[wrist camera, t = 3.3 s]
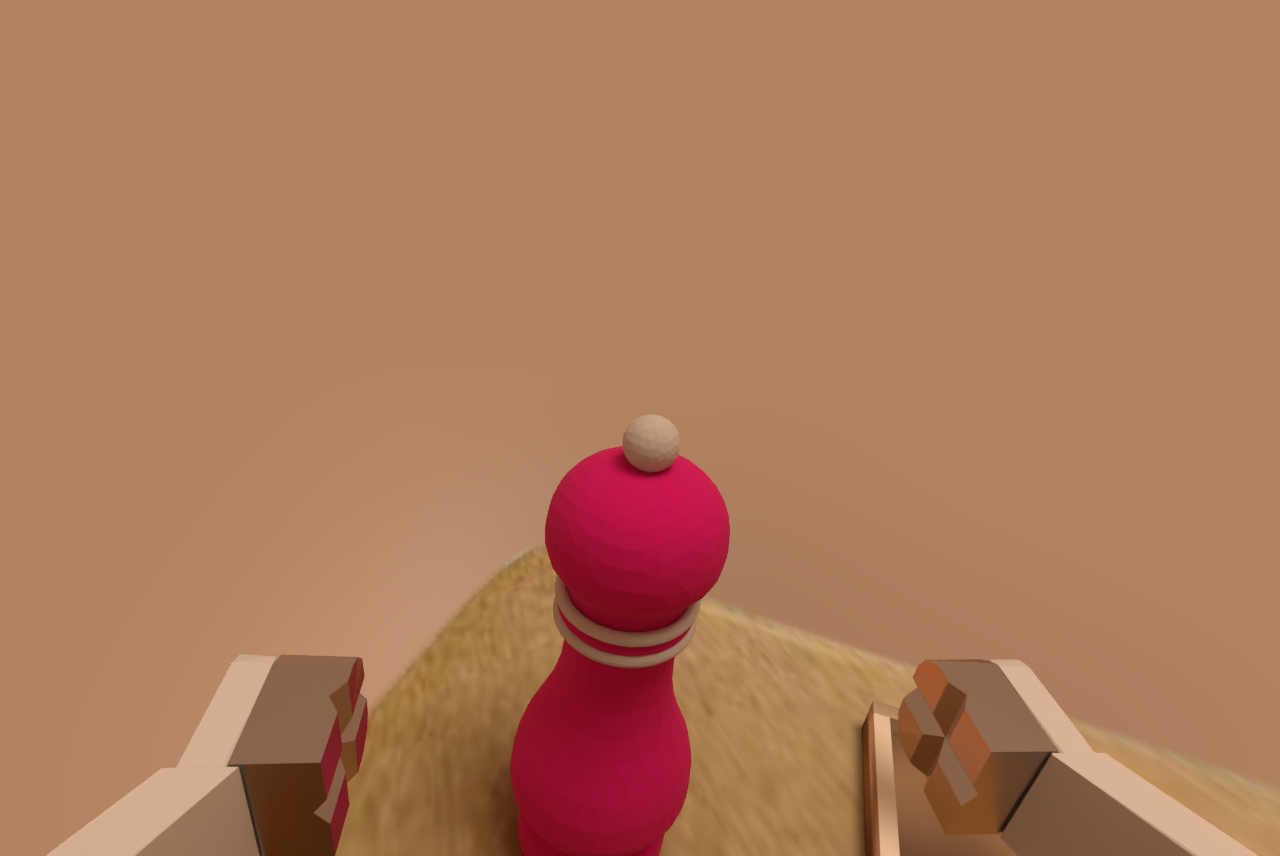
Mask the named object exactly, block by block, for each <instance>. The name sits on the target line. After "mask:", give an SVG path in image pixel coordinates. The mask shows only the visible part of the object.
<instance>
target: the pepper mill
mask: <svg viewBox="0 0 1280 856" xmlns="http://www.w3.org/2000/svg"><path fill="white" fill-rule="evenodd" d="M679 450H680V437H679V434H678V431H677V429H676V427H675V426H674V425H673V423H671V422H670V421H669V420H668V419H666V418H664V417H661V416H659V415H651V414H650V415H645V416H641V417H639V418H637V419H635V420H634V421H633V422H632V423H630V424H629V426H628V428H627V430H626V431H625V433H624V436H623V446H621V447H615V448H611V449H606V450H602V451H599V452H597V453H595V454H593V455H591V456H589V457H587V458H585V459H584V460H582V461H581V462H579V463H578V464H577V465H576V466H575V467H573V468H572V469H571V470H570V471H569V472H568V473H567V474H566V475H565V476H564V478H563V479H562V480H561V482H560V484H559V485H558V487H557V489H556V491H555V493H554V494H553V497H552V500H551V503H550V506H549V510H548V515H547V519H546V526H545V544H546V547H547V551H548V554H549V558H550V561H551V564H552V567H553V569H554V570H555V572H556V573H557V578H556V582H555V599H554V604H553V616H554V621H555V623H556V626H557V628H558V630H559V632H560V633H561V635H562V636H563V638H564V643H563V648H562V653H561V655H560V657H559V659H558V662H557V664H556V666H555V668H554V670H553V671H552V673H551V674H550V675H549V677H548V678H547V679H546V681H545V682H544V683H543V684H542V686H541V687H540V688H539V690H538V691H537V692H536V694H535V695H534V696H533V698H532V699H531V701H530V703H529V704H528V706H527V708H526V710H525V712H524V714H523V716H522V718H521V721H520V723H519V726H518V729H517V732H516V736H515V740H514V745H513V750H512V756H511V764H510V774H511V784H512V790H513V793H514V796H515V799H516V802H517V805H518V807H519V820H518V837H519V844H520V848H521V851H522V854H523V856H659V853H660V849H661V846H662V842H663V837H664V834H665V832H666V831H667V830H668V829H669V828H670V827H671V826H672V824H673V823H674V821H675V819H676V818H677V816H678V815H679V813H680V811H681V809H682V806H683V804H684V801H685V799H686V795H687V789H688V784H689V777H690V768H691V749H690V743H689V736H688V731H687V727H686V723H685V720H684V718H683V715H682V713H681V711H680V708H679V706H678V704H677V702H676V698H675V695H674V692H673V681H672V674H673V664H674V658H675V656H676V655H678V654H679V653H680V652H681V651H682V650H683V649H685V648H686V646H687V645H688V643H689V642H690V640H691V638H692V637H693V634H694V631H695V626H696V618H697V615H698V612H699V609H700V599H702V598H703V597H704V596H705V595H706V594H707V592H709V590H710V589H711V588H712V587H713V586H714V585H715V583H716V582H717V581H718V579H719V576H720V574H721V572H722V569H723V567H724V564H725V561H726V558H727V554H728V547H729V536H730V526H729V516H728V512H727V509H726V506H725V503H724V500H723V498H722V496H721V494H720V492H719V490H718V489H717V487H716V485H715V484H714V483H713V482H712V481H711V480H710V478H709V477H708V476H707V475H706V474H705V473H704V472H703V471H702V470H701V469H700V468H698V467H697V466H696V465H694V464H693V463H692V462H690V461H689V460H688V459H686V458H683V457H682V456H679V455H678V454H679Z"/></svg>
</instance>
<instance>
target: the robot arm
mask: <svg viewBox="0 0 1280 856" xmlns="http://www.w3.org/2000/svg"><path fill="white" fill-rule="evenodd" d="M363 679H364V669H363V662H362V659H361V658H359V657H336V656H304V655H250V654H240V655H239V656H238V657H237V658H236V659H235V660H234V661H233V662H232V663H231V664H230V665H229V667H228V669H227V671H226V672H225V674H224V676H223V678H222V680H221V682H220V684H219V686H218V687H217V689H216V691H215V693H214V695H213V697H212V699H211V701H210V703H209V704H208V706H207V708H206V710H205V712H204V714H203V716H202V718H201V719H200V722H199V723H198V725H197V727H196V729H195V731H194V732H193V734H192V736H191V738H190V740H189V742H188V744H187V746H186V747H185V749H184V751H183V753H182V755H181V757H180V759H179V761H178V762H177V764H176V766H175V767H171V768H161V769H159V770H158V771H157V772H156V773H154V774H153V775H151V776H150V777H149V778H148V779H146V780H145V781H143V782H142V783H141V784H140V785H138V786H137V787H136V788H134V789H133V790H132V791H130V792H129V793H128V794H126V795H125V796H124V797H122V798H121V799H120V800H118V801H117V802H116V803H114V804H113V805H112V806H110V807H109V808H108V809H107V810H105V811H104V812H102V813H101V814H100V815H98V816H97V817H96V818H94V819H93V820H92V821H91V822H89V823H88V824H87V825H85V826H84V827H83V828H81V829H80V830H79V831H77V832H76V833H75V834H73V835H72V836H71V837H69V838H68V839H67V840H66V841H64V842H63V843H61V844H60V845H59V846H57V847H56V848H55V849H53V850H52V851H51V852H49V853H48V854H47V855H45V856H335V854H336V850H337V846H338V843H339V839H340V836H341V832H342V829H343V825H344V822H345V818H346V814H347V811H348V807H349V798H348V789H347V782H348V781H349V780H350V779H352V778H353V777H354V776H355V775H356V774H357V773H358V771H359V767H360V763H361V759H362V755H363V751H364V745H365V739H366V732H367V717H368V710H367V699H366V698H365V697H364V696H363V695H361V694H360V689H361V686H362V683H363ZM913 679H914V681H915V683H916V685H917V688H916V689H915V690H913V691H912V692H911V693H909V694H908V695H907V696H905V697H904V699H903V701H902V704H901V707H900V709H899V712H898V733H899V737H900V740H901V744H902V747H903V749H904V751H905V754H906V756H907V758H908V760H909V762H910V763H911V764H912V765H914V766H915V767H916V768H917V769H918V770H920V771H921V772H922V773H923V774H924V775H925V776H926V779H925V785H924V790H923V791H924V793H925V795H926V797H927V799H928V801H929V803H930V805H931V807H932V809H933V811H934V813H935V815H936V817H937V819H938V821H939V823H940V825H941V827H942V829H943V831H944V833H945V835H970V834H1002V835H1001V836H1000V838H1001V839H1002V840H1003V841H1004V842H1005V843H1006V844H1007V845H1008V846H1009V847H1010V848H1011V849H1012V850H1013V851H1014V852H1015V853H1016V854H1017V855H1018V856H1258V855H1256V854H1255V853H1253V852H1252V851H1250V850H1249V849H1247V848H1246V847H1244V846H1243V845H1241V844H1240V843H1238V842H1237V841H1235V840H1234V839H1232V838H1231V837H1229V836H1228V835H1226V834H1225V833H1224V832H1222V831H1221V830H1219V829H1218V828H1216V827H1215V826H1213V825H1212V824H1210V823H1209V822H1207V821H1206V820H1204V819H1203V818H1201V817H1200V816H1198V815H1197V814H1195V813H1194V812H1192V811H1191V810H1189V809H1188V808H1186V807H1185V806H1183V805H1182V804H1180V803H1179V802H1177V801H1176V800H1174V799H1173V798H1171V797H1170V796H1168V795H1167V794H1165V793H1164V792H1162V791H1161V790H1159V789H1158V788H1156V787H1155V786H1153V785H1152V784H1150V783H1149V782H1147V781H1146V780H1144V779H1143V778H1141V777H1140V776H1138V775H1137V774H1135V773H1134V772H1132V771H1131V770H1129V769H1128V768H1126V767H1125V766H1123V765H1122V764H1120V763H1119V762H1117V761H1116V760H1114V759H1113V758H1111V757H1110V756H1108V755H1107V754H1105V753H1100V752H1094V751H1093V750H1092V748H1091V747H1090V746H1089V745H1088V743H1087V742H1086V741H1085V739H1084V738H1083V737H1082V735H1081V734H1080V733H1079V732H1078V730H1077V729H1076V728H1075V726H1074V725H1073V724H1072V722H1071V721H1070V720H1069V718H1068V717H1067V716H1066V715H1065V713H1064V712H1063V711H1062V709H1061V708H1060V707H1059V705H1058V704H1057V703H1056V702H1055V700H1054V699H1053V698H1052V696H1051V695H1050V694H1049V692H1048V691H1047V690H1046V688H1045V687H1044V686H1043V685H1042V683H1041V682H1040V681H1039V679H1038V678H1037V677H1036V676H1035V674H1034V673H1033V672H1032V671H1031V669H1030V668H1029V667H1028V666H1027V665H1026V664H1024V663H1023V662H1021V661H1020V660H982V659H976V660H975V659H973V660H972V659H970V660H925V661H924V662H922V663H921V664H920V665H918V667H917V669H916V672H915V674H914V676H913Z"/></svg>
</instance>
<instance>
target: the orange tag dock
mask: <svg viewBox="0 0 1280 856" xmlns="http://www.w3.org/2000/svg"><path fill="white" fill-rule="evenodd" d="M899 709H900V708H896V707H893V706H889V705H886V704H883V703H879V702H876V701H873V702H872V705H871V707H870V709H869V712H868V714H867V717H866V719H865V722H864V724H863V726H862V734H863V769H864V805H865V840H866V856H1018V855H1017V854H1016V853H1015V852H1014V851H1013V850H1012V849H1011V848H1010V847H1009V846H1008V845H1007V844H1006V843H1005V842H1004V841H1003V840H1002V839H1001V838H1000V836H1001V835H1002V834H970V835H945V833H944V831H943V829H942V827H941V825H940V823H939V821H938V819H937V817H936V815H935V813H934V811H933V809H932V807H931V805H930V803H929V801H928V799H927V797H926V795H925V793H924V791H923V790H924V785H925V779H926V776H925V775H924V774H923V773H922V772H921V771H920V770H918V769H917V768H916V767H915V766H914V765H912V764H911V763H910V762H909V760H908V758H907V756H906V754H905V751H904V749H903V747H902V744H901V740H900V737H899V733H898V712H899Z"/></svg>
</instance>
